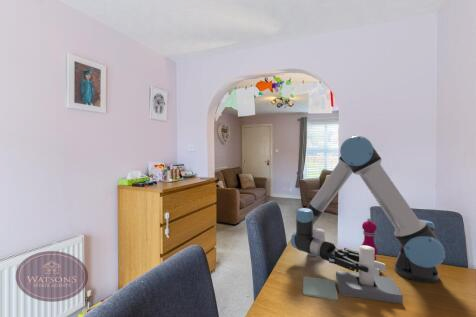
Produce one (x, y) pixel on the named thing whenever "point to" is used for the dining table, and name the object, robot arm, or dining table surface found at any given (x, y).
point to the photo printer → (318, 235)
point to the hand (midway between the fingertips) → (381, 270)
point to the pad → (319, 288)
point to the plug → (367, 258)
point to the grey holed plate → (368, 288)
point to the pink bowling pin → (369, 235)
